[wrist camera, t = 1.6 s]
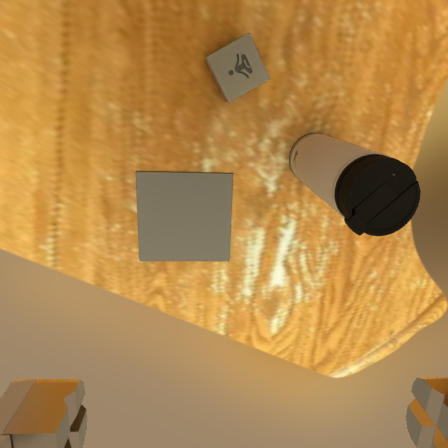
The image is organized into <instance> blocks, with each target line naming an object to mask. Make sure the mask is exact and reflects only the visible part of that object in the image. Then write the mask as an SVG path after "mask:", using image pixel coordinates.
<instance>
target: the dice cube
mask: <svg viewBox="0 0 448 448" xmlns="http://www.w3.org/2000/svg"><path fill="white" fill-rule="evenodd" d="M205 62H206V64H207V66H208V68H209V70H210V72H211V74H212V76H213V78H214V80H215V82H216V84H217V86H218V88H219V90H220V92H221V94H222V96H223V98H224V100H225V102H228V103H229V102H231V101H232V100H234V99H236V98H238V97H240V96H241V95H243V94H245V93H247V92H249V91H250V90H252V89H254V88H256V87H258V86H260V85H261V84H263V83H265V82H267V81H269V80H270V77H269V75H268V73H267V70H266V68H265V66H264V64H263V61H262V59H261V57H260V55H259V52H258V50H257V48H256V46H255V43H254V41H253V39H252V37H251V35H250V33H248V34H246V35H244V36H243V37H241V38H239V39H237V40H236V41H234V42H232V43H230V44H229V45H227V46H225V47H223V48H221V49H220V50H218V51H216V52H214V53H213V54H211V55H209V56H207V57H206V60H205Z"/></svg>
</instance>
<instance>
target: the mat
mask: <svg viewBox="0 0 448 448" xmlns="http://www.w3.org/2000/svg"><path fill="white" fill-rule="evenodd" d="M136 187H137V211H138V234H139V258H140V261H229V259H230V235H231V211H232V187H233V173H197V172H147V171H136Z"/></svg>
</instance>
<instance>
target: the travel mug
mask: <svg viewBox="0 0 448 448" xmlns="http://www.w3.org/2000/svg"><path fill="white" fill-rule="evenodd" d="M289 164H290V168H291V170H292V172H293V174H294V175H295V176H296V177H297V178H298V179H299V180H300V181H302V182H303V183H304V184H305V185H306V186H307V187H309V188H310V189H311V190H312V191H313V192H314V193H316V194H317V195H318V196H319V197H320V198H321V199H323V200H324V201H325V202H326V203H327V204H329V205H330V206H331V207H332V208H333V209H334V210H336V211H337V212H338V213H339V214H340V215H341V216H343V217H344V220H345V223H346V224H347V225H348V227H349V228H350V229H351V230H352V231H353V232H355V233H356V234H358V235H362V234H363V233H366V234H369V235H372V236H384V235H388V234H392V233H394V232H396V231H398V230H400V229H401V228H402V227H403V226H405V225H406V224H407V223H408V222H409V221H410V220H411V218H412V217H413V215H414V214H415V211H416V209H417V207H418V204H419V200H420V187H419V184H418V181H417V180H416V176H415V174H414V172H413V170H412V169H411V168H410V167H409V166H408V165H406V164H404V163H402V162H400V161H399V160H397V159H394V158H391V157H389V156H387V155H384V154H381V153H378V152H375V151H372V150H369V149H366V148H363V147H360V146H357V145H354V144H351V143H348V142H345V141H342V140H339V139H336V138H333V137H330V136H327V135H324V134H319V133H312V134H308V135H306V136H303V137H302V138H300V139H299V140H298V141H297V142H296V143H295V144H294V146H293V148H292V150H291V152H290V157H289Z"/></svg>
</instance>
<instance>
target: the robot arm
mask: <svg viewBox="0 0 448 448" xmlns="http://www.w3.org/2000/svg"><path fill="white" fill-rule="evenodd" d="M412 393H413V394H414V396H415V399H414V400H413V402H411V403H410V404H409V405H408V409H407V414H406V421H407V428H408V431H409V434H410V436H411V439H412V440H413V442H414V444H415V445H416V447H417V448H448V377H440V378H439V377H436V378H417V379H416V380H415V381H414V383H413V386H412ZM84 396H85V387H84V382H83V381H82V380H73V379H72V380H71V379H70V380H69V379H16V380H14V381H13V382H11V383H10V385H9V386H8V388H7V389H6V391H5V392H4V394H3V395H2V396H1V398H0V448H82V447H83V444H84V439H85V434H86V429H87V428H86V427H87V412H86V411H87V410H86V408H85V407H84V406H83V405H82V401H83V398H84Z"/></svg>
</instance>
